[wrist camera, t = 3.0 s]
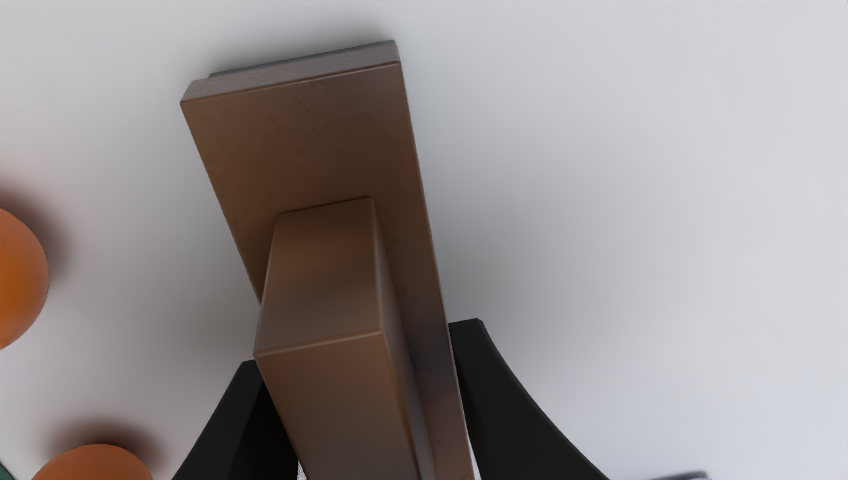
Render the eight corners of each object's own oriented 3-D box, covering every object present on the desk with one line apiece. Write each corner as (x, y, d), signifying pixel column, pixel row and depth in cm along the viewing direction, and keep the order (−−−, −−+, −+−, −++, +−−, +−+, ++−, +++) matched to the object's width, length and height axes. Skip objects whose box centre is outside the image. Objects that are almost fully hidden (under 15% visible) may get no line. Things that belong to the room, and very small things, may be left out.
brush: (392, 22, 12) (424, 164, 7) (467, 442, 19) (508, 655, 14) (203, 58, 12) (106, 224, 7) (350, 464, 19) (351, 684, 14)
